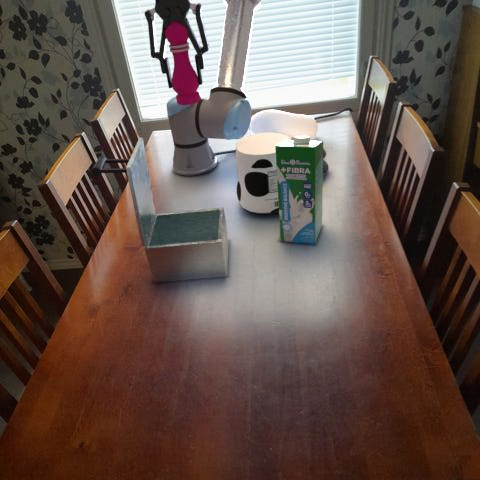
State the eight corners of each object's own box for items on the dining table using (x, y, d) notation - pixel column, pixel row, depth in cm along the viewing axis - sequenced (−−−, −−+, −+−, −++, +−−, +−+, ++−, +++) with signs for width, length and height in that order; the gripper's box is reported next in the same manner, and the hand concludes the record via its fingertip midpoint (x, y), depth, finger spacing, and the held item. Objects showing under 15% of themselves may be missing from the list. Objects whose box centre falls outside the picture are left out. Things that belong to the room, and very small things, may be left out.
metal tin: (228, 240, 120) (223, 207, 114) (227, 276, 109) (221, 241, 102) (162, 246, 122) (154, 213, 115) (154, 282, 110) (144, 248, 103)
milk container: (254, 187, 142) (249, 128, 129) (306, 194, 134) (305, 133, 122) (228, 214, 131) (219, 153, 119) (283, 223, 124) (280, 159, 112)
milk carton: (322, 226, 121) (323, 130, 104) (314, 244, 115) (315, 146, 98) (289, 223, 124) (285, 130, 107) (280, 241, 117) (275, 145, 101)
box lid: (142, 137, 102) (100, 138, 102) (130, 167, 91) (82, 168, 91) (155, 212, 115) (117, 212, 115) (145, 246, 103) (103, 247, 103)
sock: (318, 108, 163) (320, 128, 155) (315, 134, 171) (317, 154, 163) (249, 108, 165) (247, 127, 156) (249, 134, 172) (247, 153, 164)
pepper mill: (175, 99, 124) (159, 12, 111) (201, 95, 124) (188, 8, 111) (174, 107, 119) (157, 17, 106) (202, 103, 119) (188, 12, 106)
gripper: (121, -17, 102) (145, 93, 117) (209, -28, 100) (223, 84, 115) (127, -20, 107) (150, 85, 122) (211, -31, 106) (224, 76, 121)
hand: (185, 84), depth 119 cm, fingers closed on pepper mill, 7 cm apart
